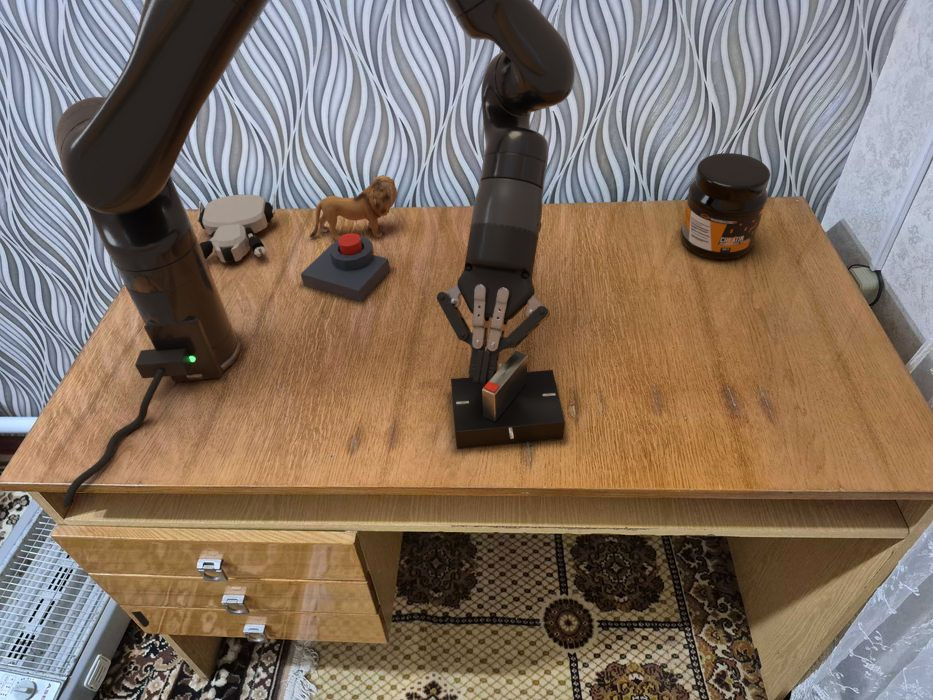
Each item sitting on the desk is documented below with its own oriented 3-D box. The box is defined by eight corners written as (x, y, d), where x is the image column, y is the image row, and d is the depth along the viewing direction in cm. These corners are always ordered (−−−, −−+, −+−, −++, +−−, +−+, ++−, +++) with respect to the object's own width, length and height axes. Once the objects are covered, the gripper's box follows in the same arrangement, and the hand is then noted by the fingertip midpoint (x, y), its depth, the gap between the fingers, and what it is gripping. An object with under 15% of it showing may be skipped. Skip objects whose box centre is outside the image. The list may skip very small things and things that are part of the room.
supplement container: (683, 262, 96) (699, 188, 87) (674, 221, 103) (688, 150, 95) (759, 264, 94) (783, 189, 86) (745, 222, 102) (765, 150, 93)
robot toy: (273, 269, 101) (281, 210, 111) (265, 246, 97) (274, 187, 107) (192, 277, 100) (207, 217, 110) (181, 254, 97) (198, 195, 107)
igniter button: (366, 245, 96) (364, 235, 95) (354, 258, 94) (352, 248, 93) (348, 241, 97) (346, 231, 96) (336, 253, 95) (333, 243, 94)
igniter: (394, 265, 99) (391, 243, 96) (361, 302, 93) (356, 280, 90) (339, 251, 102) (334, 229, 99) (303, 285, 96) (297, 263, 93)
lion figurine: (399, 216, 108) (392, 166, 102) (404, 234, 104) (397, 183, 98) (309, 231, 106) (296, 181, 100) (311, 250, 103) (297, 199, 96)
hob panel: (549, 377, 81) (550, 358, 78) (566, 450, 73) (567, 432, 70) (451, 386, 80) (449, 367, 78) (457, 460, 72) (455, 442, 70)
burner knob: (515, 377, 77) (515, 347, 73) (527, 382, 76) (528, 352, 73) (483, 416, 73) (481, 387, 69) (495, 422, 72) (494, 393, 69)
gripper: (438, 214, 70) (413, 375, 70) (562, 227, 67) (536, 396, 67) (455, 227, 77) (433, 373, 78) (567, 240, 74) (544, 392, 75)
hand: (481, 383), depth 73 cm, fingers closed
